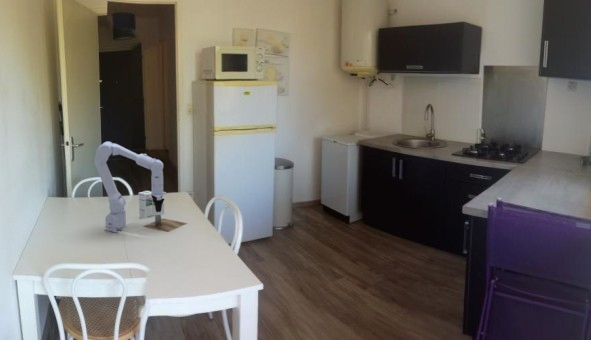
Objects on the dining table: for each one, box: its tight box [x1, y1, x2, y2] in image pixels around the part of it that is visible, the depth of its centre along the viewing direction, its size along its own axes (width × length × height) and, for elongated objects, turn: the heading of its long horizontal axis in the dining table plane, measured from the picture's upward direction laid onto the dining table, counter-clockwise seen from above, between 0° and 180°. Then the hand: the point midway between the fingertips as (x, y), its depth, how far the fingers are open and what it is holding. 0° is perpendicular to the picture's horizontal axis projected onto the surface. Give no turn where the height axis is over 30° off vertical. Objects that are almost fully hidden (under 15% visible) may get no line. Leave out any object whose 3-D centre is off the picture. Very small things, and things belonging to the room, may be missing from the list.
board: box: [142, 218, 188, 233], centre depth 248 cm, size 16×16×2 cm
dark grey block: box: [154, 215, 162, 226], centre depth 247 cm, size 3×3×5 cm
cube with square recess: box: [152, 202, 165, 216], centre depth 246 cm, size 6×6×5 cm
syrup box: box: [138, 190, 155, 220], centre depth 262 cm, size 6×6×14 cm
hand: (157, 210), depth 246 cm, fingers closed on cube with square recess, 5 cm apart
